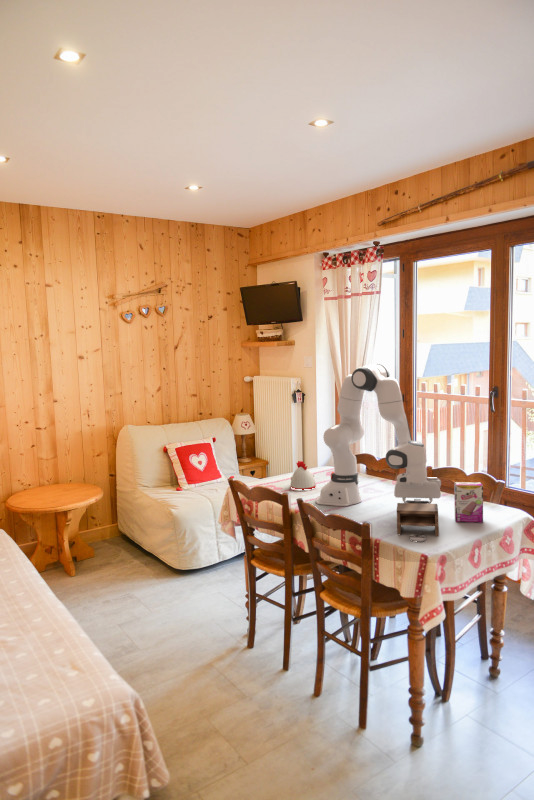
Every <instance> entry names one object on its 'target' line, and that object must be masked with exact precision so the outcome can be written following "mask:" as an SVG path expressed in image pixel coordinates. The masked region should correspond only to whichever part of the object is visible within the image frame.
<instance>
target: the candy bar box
mask: <svg viewBox="0 0 534 800" xmlns="http://www.w3.org/2000/svg"><path fill="white" fill-rule="evenodd" d="M453 485H454V487H453V488H454V490H453V491H454V519H455V522H456V523H480V524H481V523H483V522H484V485H483V483H482V482H480V481H479V482H477V481H475V482H472V481H471V482H467V481H465V482H463V481H462V482H461V481H459V482H458V481H456V482H454V484H453Z"/></svg>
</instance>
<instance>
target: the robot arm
mask: <svg viewBox="0 0 534 800" xmlns="http://www.w3.org/2000/svg"><path fill="white" fill-rule="evenodd" d="M366 391H368V392H372V391H373V392H374V393H375V394H376V397H377V405H378V411H379V414H380V417H381V418H382V419H384V421H386V422H389V423H391V424H392V425H393V427H394V428H395V432H396V437H397V442H398V445H397V446H396V447H393V448H391V449H390V450H388V451H387V452H386V454H385V462H386V464H387V466H388V467H389V468H391V469H393V470H399V469H402V470H403V469H405V470H406V471H405V472H403V473H399V474H397V476H396V481H395V484H394V491H393V492H394V497H395V498H397V499H398V498H401V499H402V503H408V502H406V500H407V499H409V498H410V499H428V501H429V503H427V504H432V502H434V501H433V499H440V498H441V496H442V495H441V494H442V493H441V489H440V488H441V486H442V480H441V478H438V477H431V476H430V477H429V476H428V470H427V450H426V446H425V444H424V443H422V441H417V440H413V438H412V434H411V429H410V425H409V421H408V418H407V414H406V412H405V407H404V402H403V395H402V391H401V388H400V385H399V382H398V380H397V379H396V378H394V377H390V371H389V369H388V367H386V366H385V365H384V364H380V363H379V364H378V363H376V364H367V365H364V366H359V367H357V368H356V369H354V371H352V374H347V376H345V378H344V379H343V382H342V385H341V388H340V392H339V397H338V403H337V408H336V409H337V413H338V414H339V415H340V421H339V424H335V425H331V426H330V427H328V428H327V429H326V430H325V431H324V433H323V441H324V444H325V445H326V447H328V448H329V449H330V452H331V454H332V458H333V469H334V471H331V473H330V481H328V482H327V483H326V484H324V485H323V486H322V487H321V489H320V493H319V495H317V496H316V499H315V503H316V504H318V505H325V506H327V505H328V506H337V507H348V506H351V505H356V504H359V503H361V502H362V497H361V495H360V490H359V488H360V487H359V482H360V481H359V472H358V466H357V456H356V455H355V454H354V453H353V451H352V449H351V445H353V444H356V443H357V442H359V441H360V440H362V438H363V437H364V434H365V430H364V427H363V425H362V424H361V409H362V404H363V399H364V398H363V397H364V393H365V392H366Z"/></svg>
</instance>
